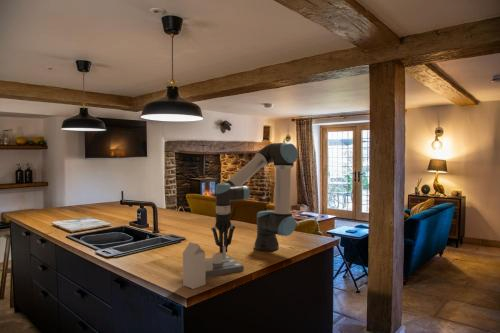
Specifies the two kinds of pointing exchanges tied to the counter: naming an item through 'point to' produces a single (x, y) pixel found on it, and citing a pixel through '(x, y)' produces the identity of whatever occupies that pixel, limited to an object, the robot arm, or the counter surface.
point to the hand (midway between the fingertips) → (223, 258)
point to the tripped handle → (217, 257)
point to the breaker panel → (222, 267)
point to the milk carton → (193, 266)
